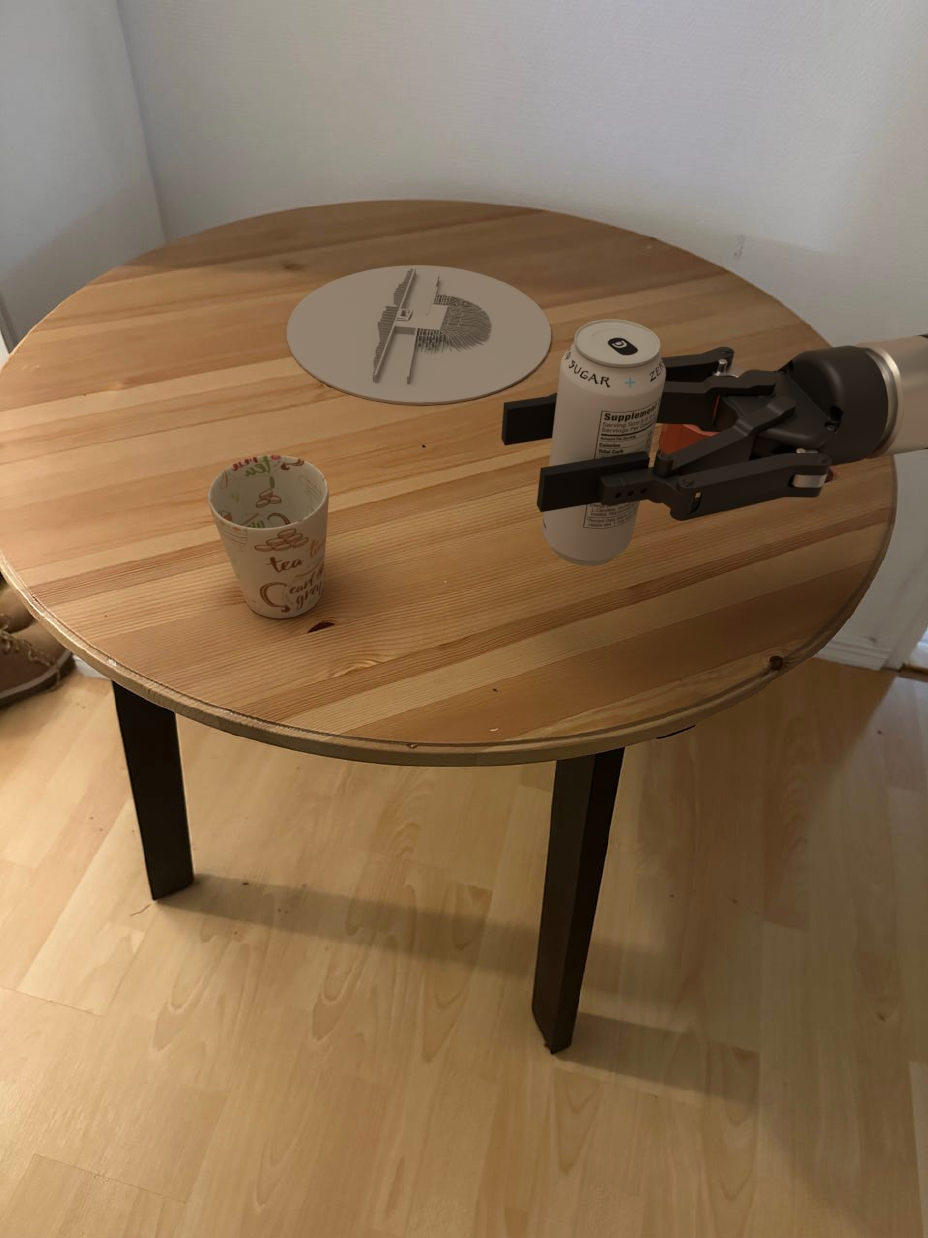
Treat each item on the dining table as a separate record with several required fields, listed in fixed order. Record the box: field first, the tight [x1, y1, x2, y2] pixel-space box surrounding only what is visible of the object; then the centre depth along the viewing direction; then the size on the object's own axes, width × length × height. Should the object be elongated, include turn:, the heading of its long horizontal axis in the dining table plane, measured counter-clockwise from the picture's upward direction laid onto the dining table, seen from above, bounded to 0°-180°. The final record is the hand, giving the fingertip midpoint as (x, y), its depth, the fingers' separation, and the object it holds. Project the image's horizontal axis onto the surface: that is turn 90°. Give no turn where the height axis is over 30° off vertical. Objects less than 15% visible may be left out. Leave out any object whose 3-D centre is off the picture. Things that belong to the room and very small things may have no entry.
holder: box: [658, 395, 720, 457], centre depth 86 cm, size 9×9×5 cm
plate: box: [286, 264, 552, 406], centre depth 101 cm, size 28×28×1 cm
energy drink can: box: [541, 318, 666, 567], centre depth 59 cm, size 6×6×15 cm
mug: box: [207, 454, 330, 620], centre depth 72 cm, size 8×13×10 cm, turn 14°
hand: (522, 455), depth 57 cm, fingers closed on energy drink can, 6 cm apart
